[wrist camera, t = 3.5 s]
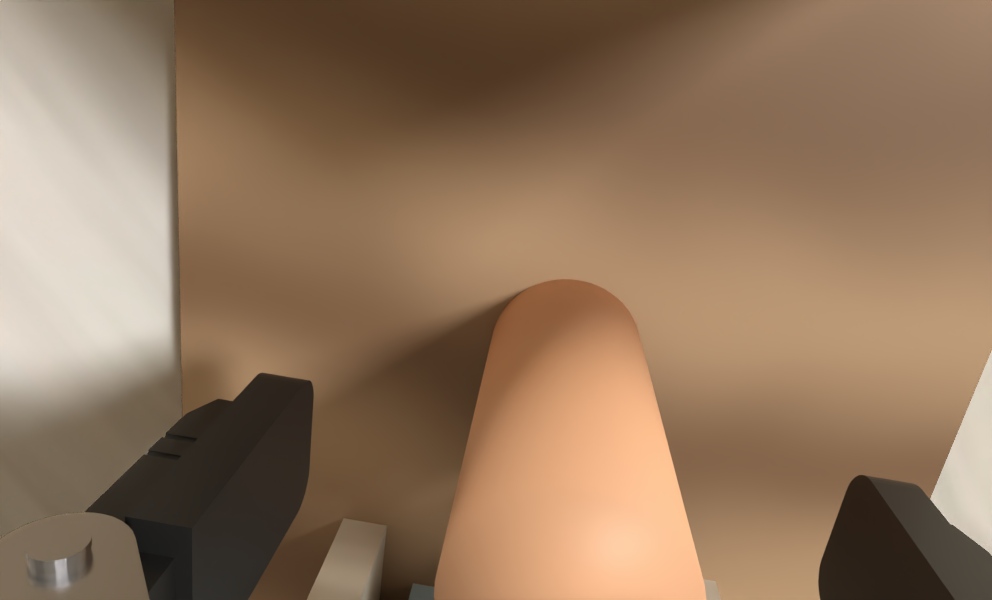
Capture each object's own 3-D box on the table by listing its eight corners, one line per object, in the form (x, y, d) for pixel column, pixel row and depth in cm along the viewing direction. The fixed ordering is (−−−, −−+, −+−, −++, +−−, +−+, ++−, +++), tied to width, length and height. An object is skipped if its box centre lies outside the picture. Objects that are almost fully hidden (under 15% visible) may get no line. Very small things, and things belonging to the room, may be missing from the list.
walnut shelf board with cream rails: (191, -359, 12) (-39, -606, 7) (1194, -230, 11) (1620, -410, 7) (202, 713, 20) (99, 908, 16) (776, 817, 20) (840, 1049, 15)
